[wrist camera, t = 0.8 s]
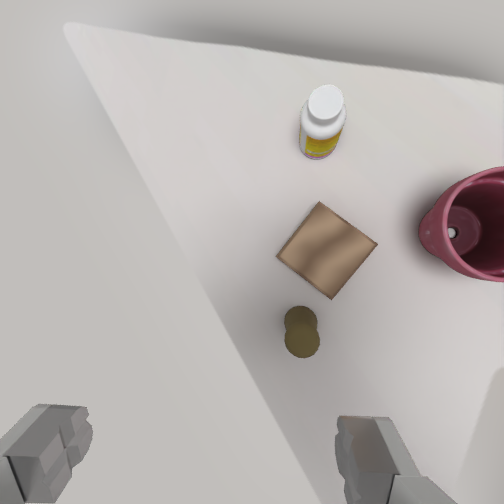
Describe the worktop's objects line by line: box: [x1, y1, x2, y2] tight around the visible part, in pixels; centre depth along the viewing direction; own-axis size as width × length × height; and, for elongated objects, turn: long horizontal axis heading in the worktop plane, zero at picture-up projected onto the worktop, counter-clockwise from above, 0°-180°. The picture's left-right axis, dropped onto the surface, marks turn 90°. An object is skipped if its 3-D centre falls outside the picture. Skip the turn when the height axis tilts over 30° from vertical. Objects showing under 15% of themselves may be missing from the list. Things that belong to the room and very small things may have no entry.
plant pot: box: [419, 166, 504, 282], centre depth 37 cm, size 14×14×13 cm
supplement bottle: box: [299, 85, 346, 159], centre depth 40 cm, size 7×7×13 cm
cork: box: [284, 306, 320, 358], centre depth 42 cm, size 6×6×11 cm
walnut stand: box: [276, 202, 378, 300], centre depth 45 cm, size 12×12×4 cm
